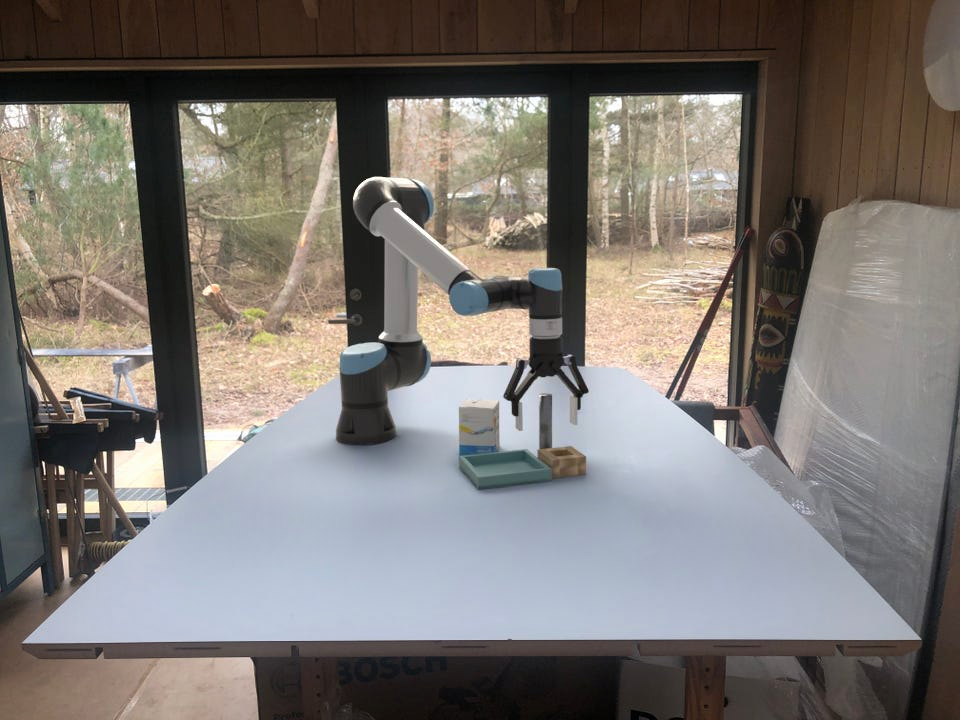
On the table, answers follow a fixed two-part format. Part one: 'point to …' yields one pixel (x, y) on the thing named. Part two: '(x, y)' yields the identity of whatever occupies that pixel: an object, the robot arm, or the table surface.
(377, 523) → the table surface
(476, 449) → the ink box
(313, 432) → the table surface
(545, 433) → the cylinder
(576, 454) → the wooden frame
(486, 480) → the tray
